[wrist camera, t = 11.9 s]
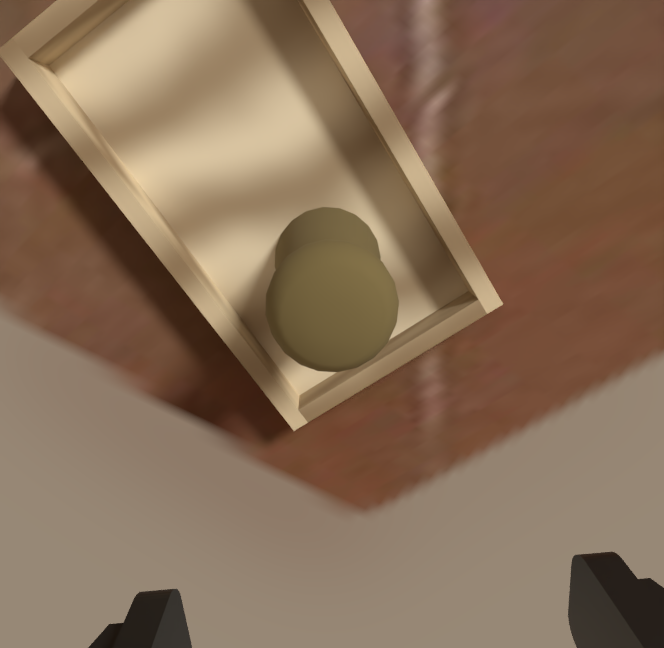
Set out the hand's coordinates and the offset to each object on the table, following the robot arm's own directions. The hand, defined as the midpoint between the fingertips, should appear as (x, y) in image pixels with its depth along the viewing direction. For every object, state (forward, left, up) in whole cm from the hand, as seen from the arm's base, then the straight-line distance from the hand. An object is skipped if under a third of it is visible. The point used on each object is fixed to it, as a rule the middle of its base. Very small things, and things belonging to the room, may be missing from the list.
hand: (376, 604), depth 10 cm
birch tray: (-8, +1, -21) cm, 22 cm away
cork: (-3, +1, -20) cm, 21 cm away
